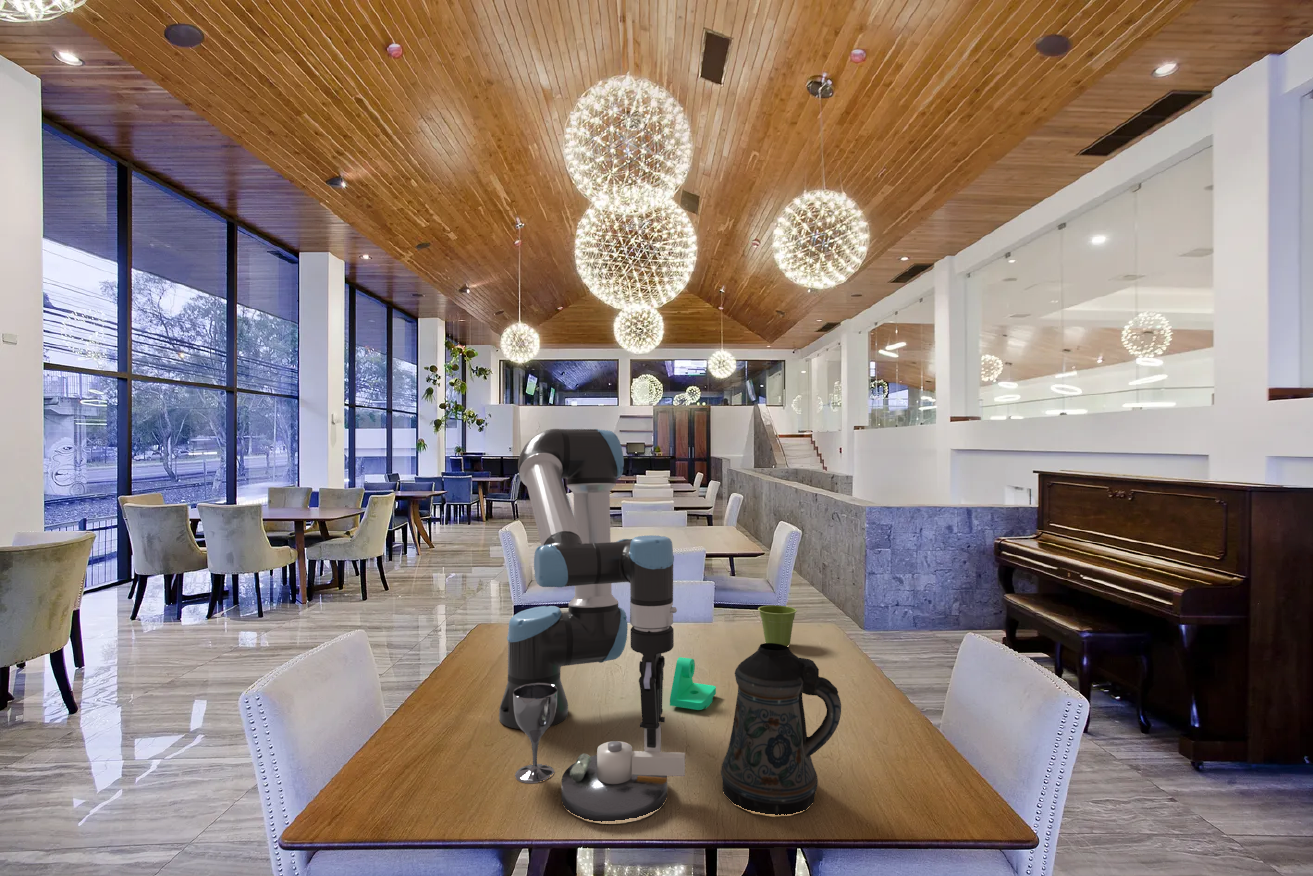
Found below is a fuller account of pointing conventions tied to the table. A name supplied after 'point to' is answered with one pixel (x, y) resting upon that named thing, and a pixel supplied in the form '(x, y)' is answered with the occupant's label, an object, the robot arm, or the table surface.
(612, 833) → the table surface
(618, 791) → the base
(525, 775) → the wine glass
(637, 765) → the knob
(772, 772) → the beer stein
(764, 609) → the plant pot
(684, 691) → the camera mount
